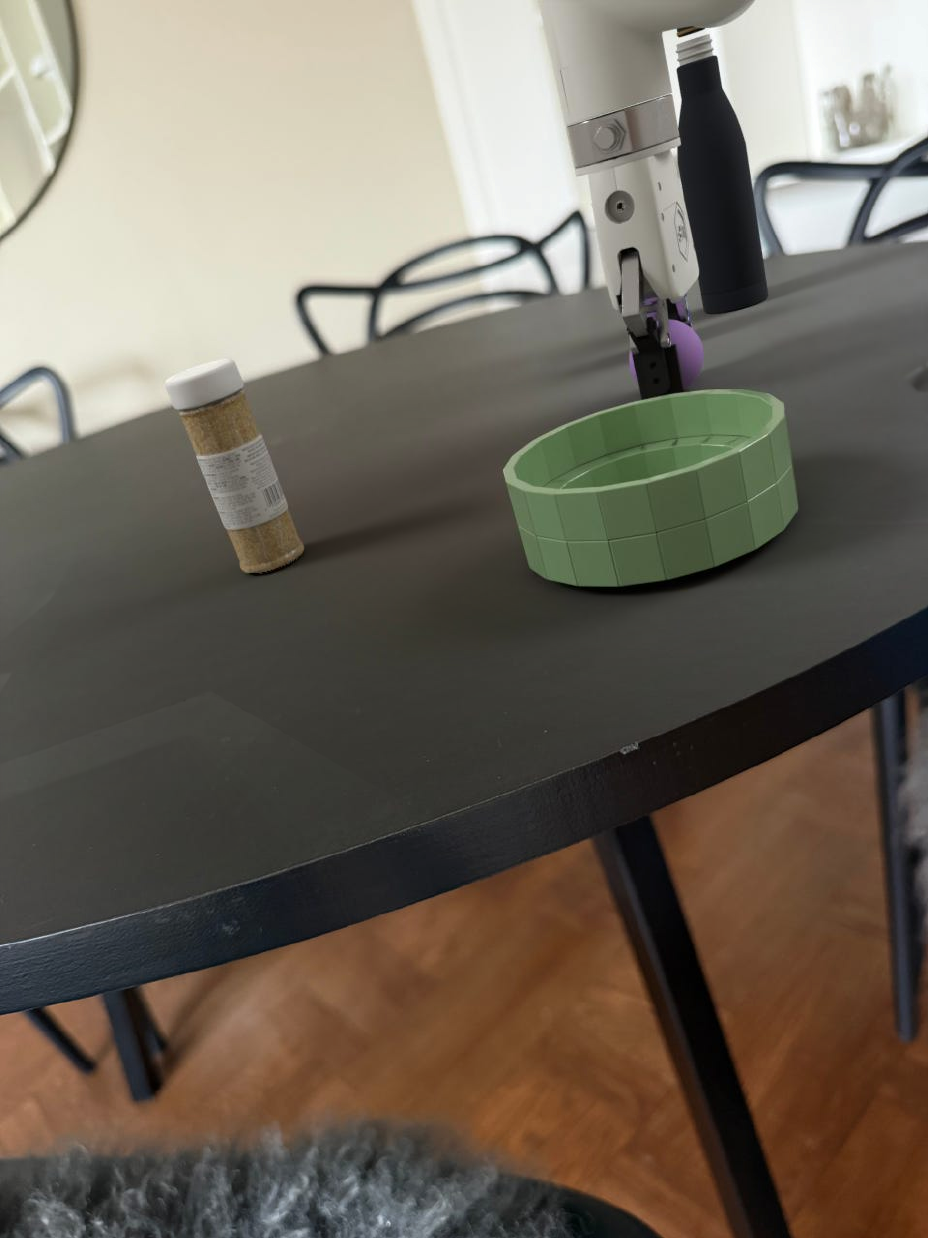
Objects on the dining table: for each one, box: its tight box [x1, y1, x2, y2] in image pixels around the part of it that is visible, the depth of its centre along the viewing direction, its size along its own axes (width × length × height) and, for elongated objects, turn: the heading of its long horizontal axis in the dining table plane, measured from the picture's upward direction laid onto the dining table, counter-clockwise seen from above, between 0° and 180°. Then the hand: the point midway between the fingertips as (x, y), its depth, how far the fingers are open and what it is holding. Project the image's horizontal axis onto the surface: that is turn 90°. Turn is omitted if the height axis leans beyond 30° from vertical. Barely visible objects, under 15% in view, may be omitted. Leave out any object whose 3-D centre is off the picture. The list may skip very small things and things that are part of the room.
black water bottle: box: [675, 26, 769, 315], centre depth 94 cm, size 6×6×30 cm
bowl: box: [502, 388, 799, 588], centre depth 51 cm, size 14×14×6 cm
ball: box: [628, 320, 705, 390], centre depth 76 cm, size 6×6×6 cm
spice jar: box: [164, 358, 305, 574], centre depth 64 cm, size 5×5×13 cm
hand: (671, 386), depth 77 cm, fingers closed on ball, 5 cm apart
